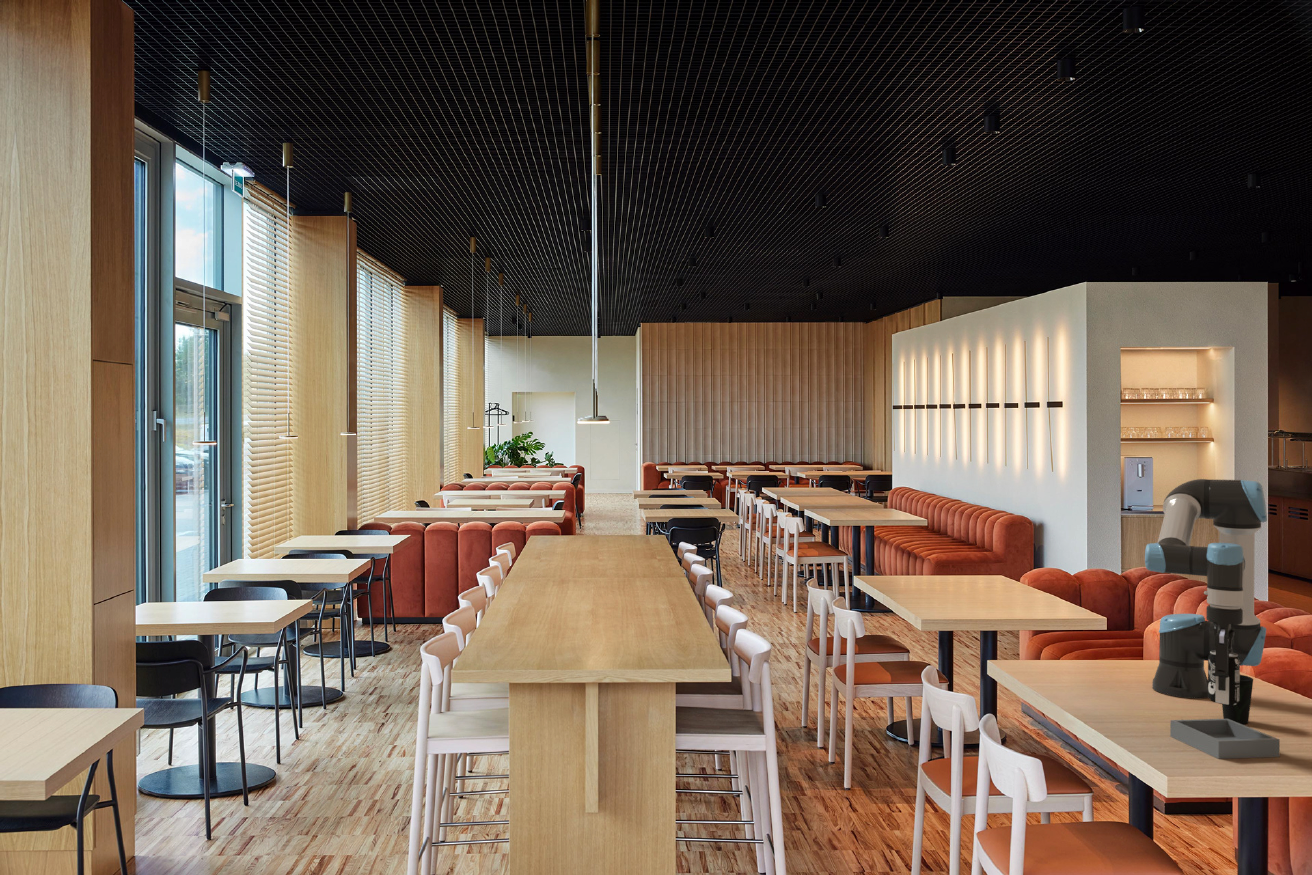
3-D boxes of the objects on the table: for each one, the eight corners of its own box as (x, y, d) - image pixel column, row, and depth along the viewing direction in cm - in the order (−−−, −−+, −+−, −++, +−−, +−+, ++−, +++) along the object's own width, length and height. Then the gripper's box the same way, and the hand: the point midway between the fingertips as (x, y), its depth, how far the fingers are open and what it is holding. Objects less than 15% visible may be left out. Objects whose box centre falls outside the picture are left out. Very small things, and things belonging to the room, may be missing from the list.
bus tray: (1227, 734, 225) (1227, 718, 225) (1279, 756, 209) (1279, 739, 209) (1170, 736, 223) (1170, 720, 223) (1218, 758, 207) (1218, 741, 207)
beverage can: (1201, 698, 219) (1201, 649, 219) (1226, 697, 220) (1226, 649, 220) (1220, 705, 213) (1221, 656, 213) (1246, 705, 213) (1246, 656, 213)
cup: (1242, 727, 231) (1242, 681, 231) (1212, 719, 238) (1213, 674, 238) (1259, 723, 235) (1259, 678, 235) (1229, 715, 242) (1229, 671, 242)
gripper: (1210, 599, 227) (1209, 689, 226) (1202, 609, 211) (1201, 705, 211) (1245, 603, 222) (1244, 694, 222) (1239, 613, 207) (1238, 711, 206)
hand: (1223, 699), depth 216 cm, fingers closed on beverage can, 7 cm apart
